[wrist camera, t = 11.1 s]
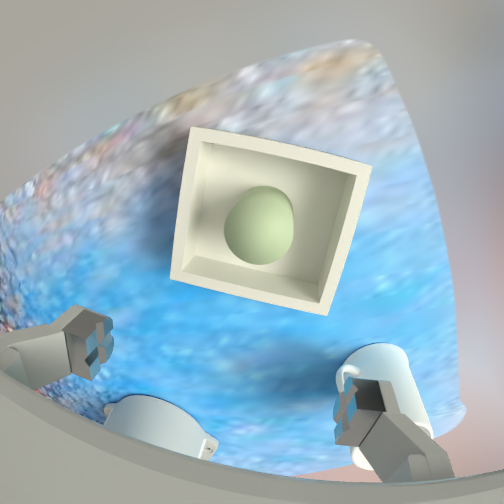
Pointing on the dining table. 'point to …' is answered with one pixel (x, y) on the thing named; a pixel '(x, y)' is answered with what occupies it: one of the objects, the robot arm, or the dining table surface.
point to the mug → (388, 369)
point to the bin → (304, 223)
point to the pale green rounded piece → (260, 226)
